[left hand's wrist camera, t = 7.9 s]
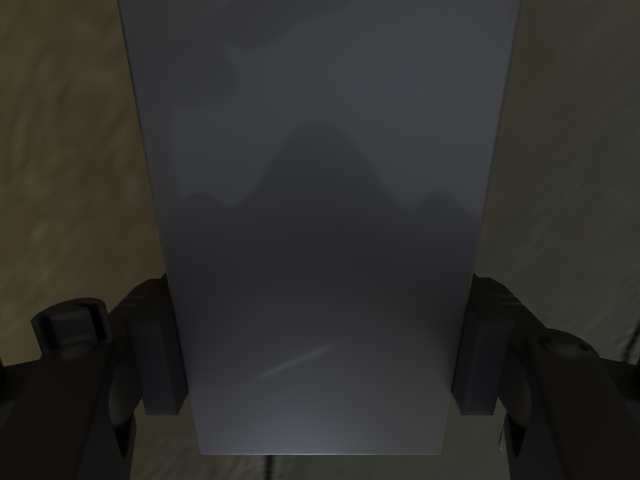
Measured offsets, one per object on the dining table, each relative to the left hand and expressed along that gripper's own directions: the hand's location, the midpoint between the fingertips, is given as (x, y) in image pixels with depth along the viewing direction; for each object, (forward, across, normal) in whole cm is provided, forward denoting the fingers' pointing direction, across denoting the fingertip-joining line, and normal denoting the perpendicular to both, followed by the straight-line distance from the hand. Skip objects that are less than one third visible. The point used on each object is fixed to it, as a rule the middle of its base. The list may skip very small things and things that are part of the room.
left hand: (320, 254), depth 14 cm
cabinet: (+5, 0, -5) cm, 7 cm away
